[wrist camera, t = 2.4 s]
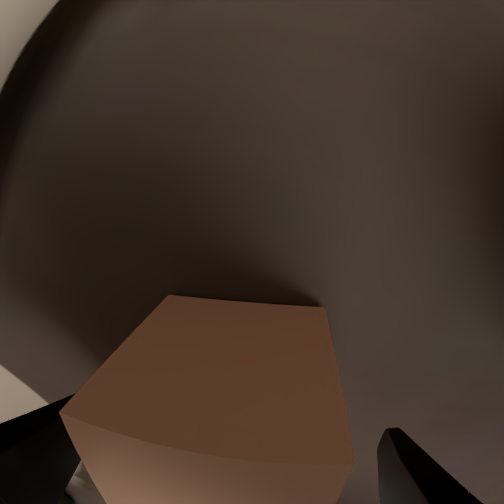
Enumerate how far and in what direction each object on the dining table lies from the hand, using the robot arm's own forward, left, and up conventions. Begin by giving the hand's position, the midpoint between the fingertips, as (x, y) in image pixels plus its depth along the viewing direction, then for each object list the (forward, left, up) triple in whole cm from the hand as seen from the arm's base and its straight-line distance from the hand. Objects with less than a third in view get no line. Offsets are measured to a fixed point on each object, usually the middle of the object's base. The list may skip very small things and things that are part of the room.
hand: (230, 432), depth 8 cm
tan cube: (0, 0, -3) cm, 3 cm away
